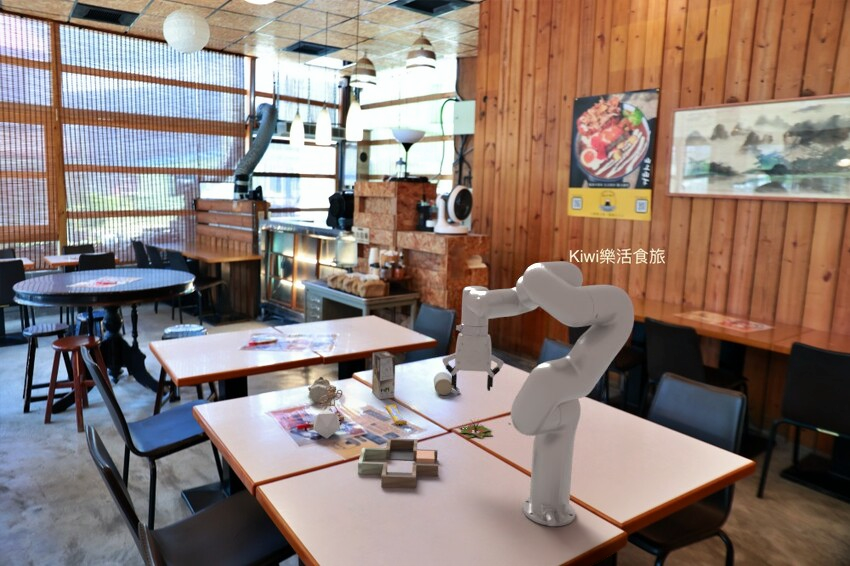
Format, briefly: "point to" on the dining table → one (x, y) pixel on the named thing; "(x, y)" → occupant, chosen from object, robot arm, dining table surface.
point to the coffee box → (383, 375)
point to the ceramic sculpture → (320, 390)
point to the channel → (396, 451)
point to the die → (326, 423)
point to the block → (425, 457)
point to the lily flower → (476, 428)
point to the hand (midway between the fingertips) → (471, 388)
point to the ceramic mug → (444, 384)
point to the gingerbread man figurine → (331, 399)
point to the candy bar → (395, 414)
